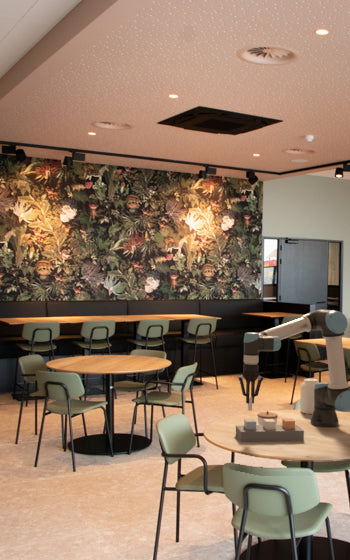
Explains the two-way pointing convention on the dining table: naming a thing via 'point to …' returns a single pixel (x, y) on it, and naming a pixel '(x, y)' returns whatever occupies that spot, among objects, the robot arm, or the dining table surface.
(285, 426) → the key terracotta
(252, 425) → the grey cube
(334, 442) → the dining table surface
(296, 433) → the console
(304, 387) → the can
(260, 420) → the lidded jar
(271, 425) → the key ivory
